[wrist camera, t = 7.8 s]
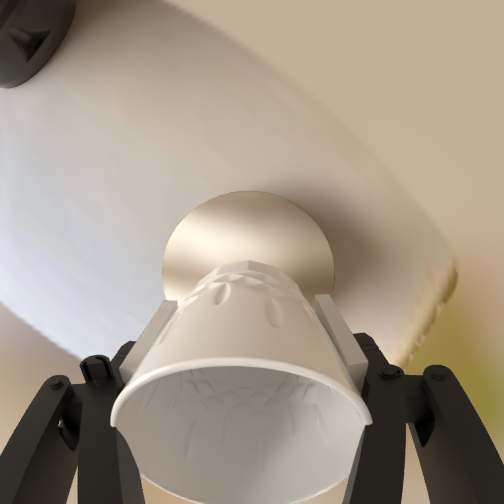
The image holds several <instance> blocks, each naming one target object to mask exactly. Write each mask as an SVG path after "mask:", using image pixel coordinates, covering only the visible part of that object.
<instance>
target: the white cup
mask: <svg viewBox="0 0 504 504" xmlns="http://www.w3.org/2000/svg"><path fill="white" fill-rule="evenodd" d="M110 423H111V426H112V427H117V429H118V431H119V432H120V433H121V434H122V435H123V437H124V438H125V440H126V442H127V443H128V445H129V448H130V450H131V452H132V454H133V457H134V459H135V462H136V464H137V467H138V469H139V473H140V475H141V476H142V477H144V478H145V479H146V480H148V481H149V482H150V483H152V484H153V485H155V486H157V487H158V488H160V489H162V490H164V491H166V492H168V493H170V494H172V495H174V496H177V497H179V498H182V499H185V500H187V501H191V502H193V503H197V504H297V503H300V502H303V501H307V500H309V499H312V498H314V497H317V496H319V495H321V494H323V493H325V492H327V491H329V490H331V489H332V488H334V487H335V486H337V485H338V484H340V483H341V482H343V481H344V480H345V479H347V478H348V477H349V476H350V472H351V468H352V465H353V461H354V458H355V454H356V451H357V447H358V444H359V441H360V437H361V434H362V432H363V429H364V427H365V425H370V424H372V423H373V421H372V417H371V414H370V412H369V410H368V408H367V406H366V404H365V402H364V400H363V398H362V396H361V395H360V393H359V391H358V389H357V387H356V385H355V383H354V381H353V379H352V378H351V376H350V374H349V372H348V370H347V368H346V366H345V364H344V362H343V360H342V358H341V357H340V355H339V353H338V351H337V349H336V347H335V345H334V343H333V341H332V340H331V338H330V336H329V334H328V333H327V331H326V329H325V328H324V326H323V325H322V323H321V322H320V320H319V318H318V316H317V315H316V313H315V311H314V310H313V308H312V307H311V305H310V304H309V303H308V302H307V300H306V299H305V298H304V296H303V294H302V292H301V290H300V288H299V286H298V285H297V284H296V283H295V282H294V281H293V280H292V279H290V278H289V277H288V276H287V275H286V274H284V273H283V272H282V271H281V270H280V269H278V268H277V267H275V266H271V265H267V264H263V263H259V262H255V261H251V260H245V261H239V262H234V263H229V264H223V265H220V266H219V267H217V268H216V269H215V270H213V271H212V272H210V273H209V274H208V275H206V276H205V277H204V278H202V279H201V280H200V281H199V282H198V283H197V285H196V286H195V288H194V289H193V291H192V292H191V293H190V294H189V295H188V296H187V298H186V299H185V300H184V301H183V302H182V303H181V305H180V306H179V307H178V309H177V310H176V312H175V313H174V314H173V316H172V317H171V318H170V319H169V321H168V322H167V324H166V325H165V326H164V328H163V329H162V331H161V332H160V334H159V335H158V337H157V338H156V340H155V341H154V343H153V345H152V346H151V348H150V349H149V351H148V352H147V354H146V355H145V357H144V358H143V360H142V361H141V363H140V364H139V366H138V367H137V369H136V370H135V372H134V373H133V375H132V376H131V378H130V379H129V381H128V382H127V384H126V385H125V387H124V388H123V390H122V391H121V393H120V394H119V396H118V398H117V399H116V401H115V403H114V406H113V408H112V412H111V421H110Z"/></svg>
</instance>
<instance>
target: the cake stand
mask: <svg viewBox="0 0 504 504" xmlns="http://www.w3.org/2000/svg"><path fill="white" fill-rule="evenodd" d="M245 260H251V261H255V262H259V263H263V264H267V265H271V266H275V267H277V268H278V269H280V270H281V271H282V272H283V273H284V274H286V275H287V276H288V277H289V278H290V279H292V280H293V281H294V282H295V283H296V284H297V285H298V286H299V288H300V290H301V292H302V294H303V296H304V298H305V299H306V300H307V302H308V303H309V304H310V305H311V307H312V308H313V310H314V311H315V295H322V294H329V295H330V297H331V295H332V291H333V287H334V278H335V271H334V261H333V255H332V252H331V249H330V246H329V244H328V241H327V239H326V237H325V235H324V234H323V232H322V231H321V229H320V228H319V226H318V225H317V224H316V223H315V221H314V220H313V219H312V218H311V217H310V216H309V215H308V214H306V213H305V212H304V211H303V210H302V209H300V208H299V207H298V206H296V205H294V204H293V203H291V202H290V201H288V200H285V199H283V198H281V197H279V196H275V195H272V194H269V193H264V192H257V191H239V192H231V193H228V194H224V195H220V196H218V197H215V198H213V199H210V200H208V201H207V202H205V203H203V204H202V205H200V206H198V207H197V208H195V209H194V210H193V211H192V212H190V213H189V214H188V215H187V216H186V217H185V218H184V219H183V220H182V221H181V222H180V223H179V225H178V226H177V228H176V229H175V230H174V232H173V234H172V236H171V238H170V240H169V241H168V244H167V247H166V250H165V253H164V258H163V263H162V282H163V288H164V292H165V296H166V299H167V300H177V303H178V307H179V306H180V305H181V303H182V302H183V301H184V300H185V299H186V298H187V296H188V295H189V294H190V293H191V292H192V291H193V289H194V288H195V286H196V285H197V283H198V282H199V281H200V280H201V279H202V278H204V277H205V276H206V275H208V274H209V273H210V272H212V271H213V270H215V269H216V268H217V267H219V266H220V265H223V264H229V263H234V262H239V261H245Z"/></svg>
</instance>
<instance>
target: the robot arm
mask: <svg viewBox="0 0 504 504" xmlns="http://www.w3.org/2000/svg"><path fill="white" fill-rule="evenodd" d="M75 6H76V1H75V0H0V87H1V88H12V87H15V86H18V85H20V84H22V83H23V82H25V81H26V80H28V79H29V78H30V77H32V76H33V75H34V74H35V73H36V72H37V71H38V70H39V69H40V68H41V67H42V66H43V65H44V64H45V63H46V62H47V61H48V59H49V58H50V57H51V56H52V54H53V53H54V52H55V50H56V49H57V48H58V46H59V45H60V43H61V41H62V40H63V38H64V36H65V35H66V33H67V31H68V29H69V27H70V24H71V22H72V19H73V16H74V12H75ZM177 309H178V303H177V300H166V301H164V302H163V303H162V305H161V306H160V307H159V309H158V310H157V312H156V313H155V315H154V316H153V318H152V319H151V321H150V322H149V324H148V325H147V326H146V328H145V329H144V331H143V332H142V334H141V335H140V337H139V338H138V340H137V341H129V342H127V343H126V344H124V345H123V346H121V348H120V349H119V351H118V352H117V353H116V355H115V356H114V358H113V359H112V360H111V362H110V360H109V358H108V357H106V356H104V355H94V356H90V357H88V358H85V359H84V360H83V361H82V362H81V363H80V368H81V371H82V373H83V376H84V379H85V381H86V383H84V384H71V382H70V380H69V378H68V377H66V376H64V375H55V376H52V377H50V378H49V379H47V380H46V381H45V382H44V384H43V385H42V387H41V388H40V390H39V391H38V393H37V394H36V396H35V397H34V399H33V401H32V402H31V404H30V405H29V407H28V409H27V410H26V412H25V413H24V415H23V417H22V418H21V420H20V422H19V424H18V426H17V427H16V429H15V430H14V432H13V434H12V436H11V437H10V439H9V441H8V443H7V445H6V446H5V448H4V450H3V452H2V454H1V456H0V504H66V502H67V499H68V495H69V492H70V488H71V485H72V482H73V478H74V475H75V472H76V469H77V466H78V504H145V500H144V495H143V489H142V484H141V478H140V473H139V469H138V467H137V464H136V462H135V459H134V457H133V454H132V452H131V450H130V448H129V445H128V443H127V442H126V440H125V438H124V437H123V435H122V434H121V433H120V432H119V431H118V429H117V427H112V426H111V423H110V421H111V412H112V408H113V406H114V403H115V401H116V399H117V398H118V396H119V394H120V393H121V391H122V390H123V388H124V387H125V385H126V384H127V382H128V381H129V379H130V378H131V376H132V375H133V373H134V372H135V370H136V369H137V367H138V366H139V364H140V363H141V361H142V360H143V358H144V357H145V355H146V354H147V352H148V351H149V349H150V348H151V346H152V345H153V343H154V341H155V340H156V338H157V337H158V335H159V334H160V332H161V331H162V329H163V328H164V326H165V325H166V324H167V322H168V321H169V319H170V318H171V317H172V316H173V314H174V313H175V312H176V310H177ZM315 313H316V315H317V316H318V318H319V320H320V322H321V323H322V325H323V326H324V328H325V329H326V331H327V333H328V334H329V336H330V338H331V340H332V341H333V343H334V345H335V347H336V349H337V351H338V353H339V355H340V357H341V358H342V360H343V362H344V364H345V366H346V368H347V370H348V372H349V374H350V376H351V378H352V379H353V381H354V383H355V385H356V387H357V389H358V391H359V393H360V395H361V396H362V398H363V400H364V402H365V404H366V406H367V408H368V410H369V412H370V414H371V417H372V421H373V423H372V424H370V425H365V427H364V429H363V432H362V434H361V437H360V441H359V444H358V447H357V451H356V454H355V458H354V461H353V465H352V468H351V472H350V476H349V480H348V484H347V489H346V492H345V496H344V499H343V503H342V504H401V499H402V490H403V480H404V467H405V446H406V423H408V425H409V429H410V432H411V435H412V438H413V441H414V444H415V448H416V451H417V454H418V458H419V461H420V465H421V468H422V472H423V476H424V479H425V483H426V487H427V491H428V495H429V499H430V504H504V464H503V462H502V460H501V458H500V456H499V454H498V452H497V450H496V448H495V446H494V444H493V442H492V440H491V438H490V436H489V434H488V432H487V430H486V428H485V427H484V425H483V423H482V421H481V419H480V417H479V416H478V414H477V412H476V410H475V409H474V407H473V405H472V403H471V402H470V400H469V398H468V396H467V395H466V393H465V392H464V390H463V388H462V386H461V385H460V383H459V382H458V380H457V378H456V377H455V375H454V374H453V372H452V371H451V370H450V369H449V368H447V367H445V366H442V365H431V366H428V367H427V368H425V370H424V372H423V375H405V374H404V371H403V370H402V369H401V368H400V367H398V366H395V365H391V364H389V363H388V361H387V360H386V358H385V357H384V355H383V353H382V352H381V350H379V347H378V346H377V345H376V343H375V341H374V340H373V338H372V337H370V336H369V335H367V334H366V333H357V334H352V332H351V331H350V329H349V327H348V326H347V324H346V322H345V320H344V319H343V317H342V315H341V314H340V312H339V310H338V309H337V307H336V305H335V304H334V302H333V300H332V299H331V297H330V295H329V294H322V295H315ZM59 421H61V423H60V425H59V426H58V424H59Z"/></svg>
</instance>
